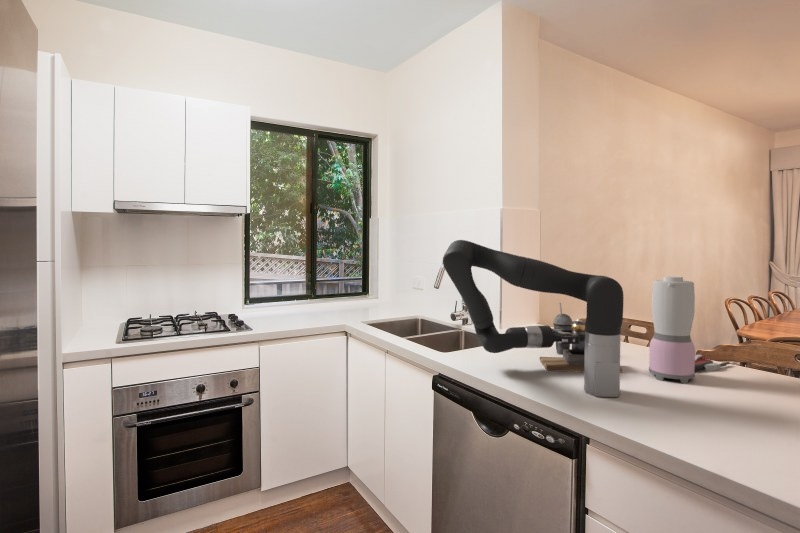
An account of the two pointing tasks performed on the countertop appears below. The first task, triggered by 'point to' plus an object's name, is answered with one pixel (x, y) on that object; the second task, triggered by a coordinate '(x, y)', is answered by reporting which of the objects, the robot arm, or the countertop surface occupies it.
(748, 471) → the countertop surface
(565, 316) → the beverage cup
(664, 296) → the blender
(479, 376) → the countertop surface
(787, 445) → the countertop surface
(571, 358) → the wood and grey block
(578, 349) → the cell
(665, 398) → the countertop surface
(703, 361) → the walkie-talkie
